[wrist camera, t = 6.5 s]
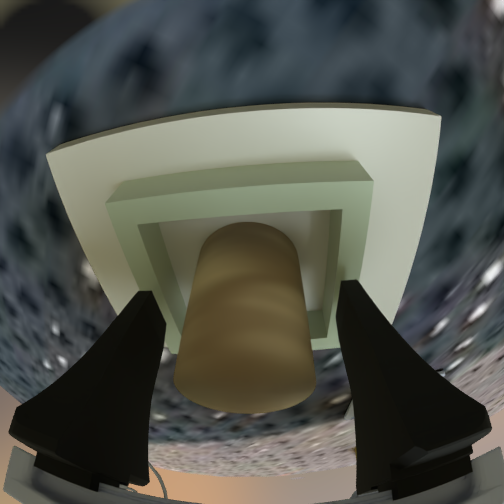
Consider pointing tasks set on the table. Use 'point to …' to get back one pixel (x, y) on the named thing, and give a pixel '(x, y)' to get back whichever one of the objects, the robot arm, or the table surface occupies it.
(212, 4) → the table surface
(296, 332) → the maple peg
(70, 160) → the socket board
